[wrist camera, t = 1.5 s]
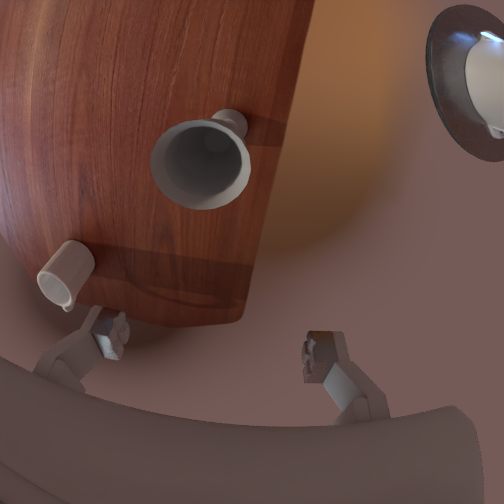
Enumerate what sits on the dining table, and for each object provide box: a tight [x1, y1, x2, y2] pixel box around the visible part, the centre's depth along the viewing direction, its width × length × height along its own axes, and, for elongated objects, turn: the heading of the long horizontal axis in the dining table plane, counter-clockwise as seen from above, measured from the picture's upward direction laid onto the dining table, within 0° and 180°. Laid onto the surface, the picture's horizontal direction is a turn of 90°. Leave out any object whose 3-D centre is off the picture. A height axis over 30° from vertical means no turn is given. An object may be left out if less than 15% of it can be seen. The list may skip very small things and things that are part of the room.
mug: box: [37, 240, 95, 312], centre depth 44 cm, size 8×12×10 cm
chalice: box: [150, 109, 251, 210], centre depth 26 cm, size 7×7×18 cm
